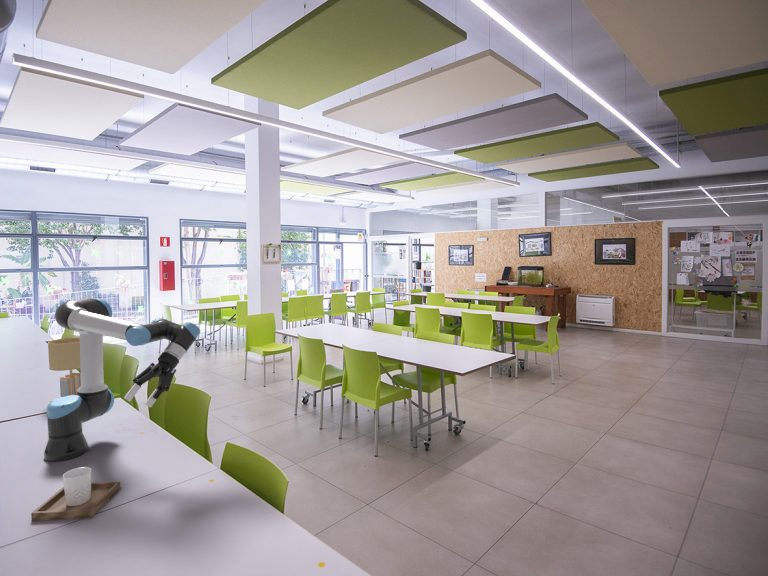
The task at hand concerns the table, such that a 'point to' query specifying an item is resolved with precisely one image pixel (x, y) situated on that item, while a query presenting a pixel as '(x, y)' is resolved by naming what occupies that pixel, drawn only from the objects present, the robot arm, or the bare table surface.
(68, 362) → the desk lamp
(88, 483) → the white cup
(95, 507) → the walnut tray
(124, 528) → the table surface
